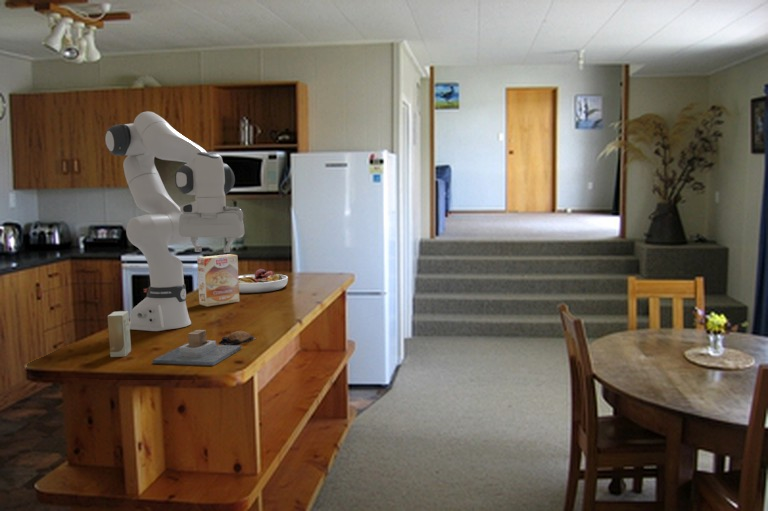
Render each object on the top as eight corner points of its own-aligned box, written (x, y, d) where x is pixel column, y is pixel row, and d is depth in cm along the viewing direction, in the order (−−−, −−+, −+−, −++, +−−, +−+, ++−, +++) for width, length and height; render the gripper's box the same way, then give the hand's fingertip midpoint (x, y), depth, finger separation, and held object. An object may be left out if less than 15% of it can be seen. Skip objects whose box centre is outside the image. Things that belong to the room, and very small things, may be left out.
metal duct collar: (152, 363, 184) (151, 351, 184) (185, 347, 201) (184, 335, 201) (213, 365, 180) (212, 353, 180) (241, 349, 198) (240, 337, 197)
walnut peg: (197, 350, 193) (196, 329, 193) (207, 350, 193) (206, 330, 192) (189, 354, 189) (187, 333, 188) (198, 354, 188) (197, 334, 187)
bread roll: (238, 338, 214) (237, 327, 214) (259, 340, 210) (258, 329, 210) (214, 345, 205) (214, 333, 205) (235, 348, 201) (235, 336, 201)
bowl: (282, 293, 296) (281, 276, 295) (215, 295, 297) (214, 277, 296) (292, 283, 326) (291, 267, 325) (231, 284, 326) (230, 268, 326)
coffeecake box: (206, 306, 268) (204, 258, 265) (198, 304, 273) (196, 256, 271) (240, 301, 277) (238, 254, 275) (231, 299, 283) (229, 253, 281)
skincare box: (116, 352, 198) (113, 311, 196) (131, 351, 198) (129, 310, 197) (109, 357, 191) (106, 315, 190) (125, 357, 192) (122, 314, 190)
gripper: (247, 206, 203) (248, 251, 205) (185, 205, 207) (187, 250, 209) (238, 207, 197) (240, 254, 199) (175, 206, 201) (177, 252, 203)
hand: (212, 252), depth 204 cm, fingers open, 8 cm apart
